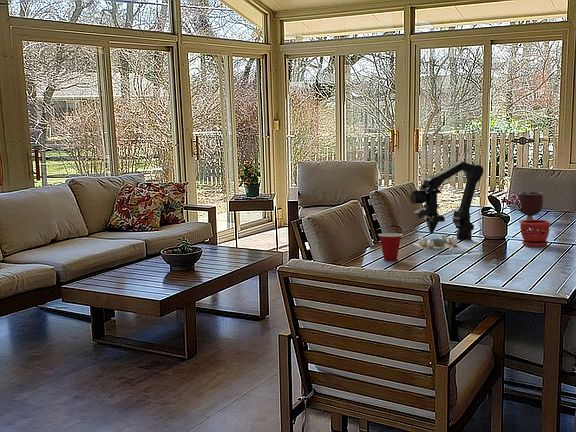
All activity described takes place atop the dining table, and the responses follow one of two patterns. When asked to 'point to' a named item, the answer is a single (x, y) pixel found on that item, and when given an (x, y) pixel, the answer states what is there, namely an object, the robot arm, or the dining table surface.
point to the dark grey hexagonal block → (439, 242)
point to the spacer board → (436, 246)
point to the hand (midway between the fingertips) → (431, 233)
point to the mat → (452, 253)
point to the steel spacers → (431, 242)
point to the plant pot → (534, 232)
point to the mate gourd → (530, 203)
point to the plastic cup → (390, 245)
